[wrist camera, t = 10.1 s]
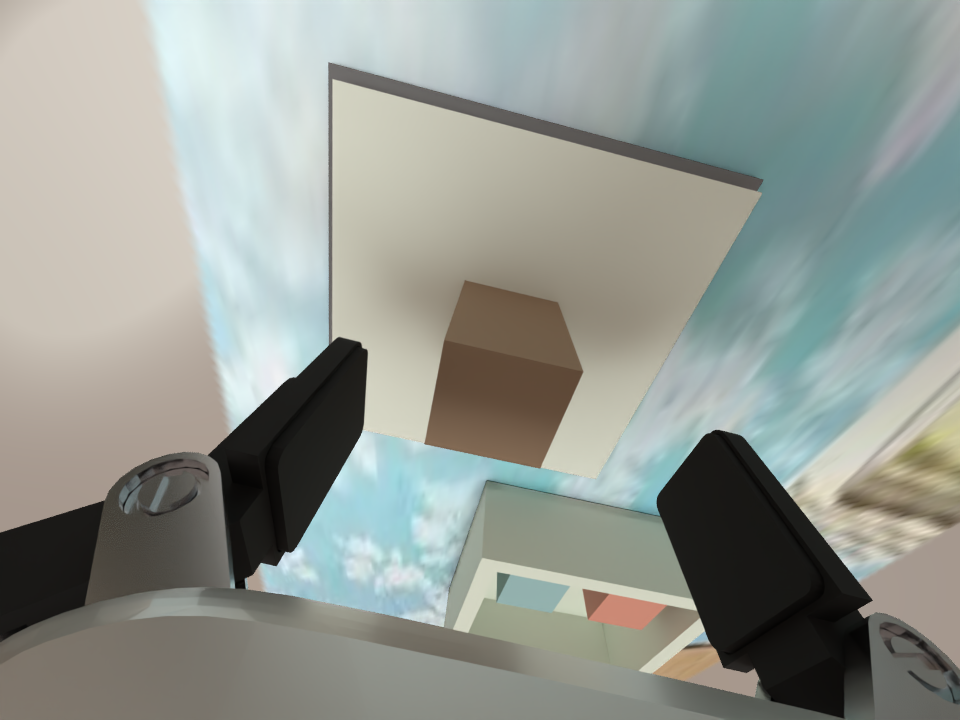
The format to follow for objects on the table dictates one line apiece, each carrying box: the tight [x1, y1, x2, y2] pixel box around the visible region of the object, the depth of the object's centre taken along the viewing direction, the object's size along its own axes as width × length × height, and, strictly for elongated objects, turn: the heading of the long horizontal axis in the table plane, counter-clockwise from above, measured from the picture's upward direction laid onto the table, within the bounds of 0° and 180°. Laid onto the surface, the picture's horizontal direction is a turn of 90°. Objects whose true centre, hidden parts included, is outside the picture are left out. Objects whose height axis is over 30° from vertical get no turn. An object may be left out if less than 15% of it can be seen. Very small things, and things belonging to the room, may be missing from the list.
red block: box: [582, 589, 667, 630], centre depth 23 cm, size 4×4×4 cm
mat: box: [328, 62, 763, 345], centre depth 16 cm, size 16×16×1 cm
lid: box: [332, 79, 762, 479], centre depth 13 cm, size 15×15×6 cm
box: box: [444, 481, 705, 674], centre depth 24 cm, size 14×14×5 cm
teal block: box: [496, 572, 570, 613], centre depth 22 cm, size 4×4×4 cm
